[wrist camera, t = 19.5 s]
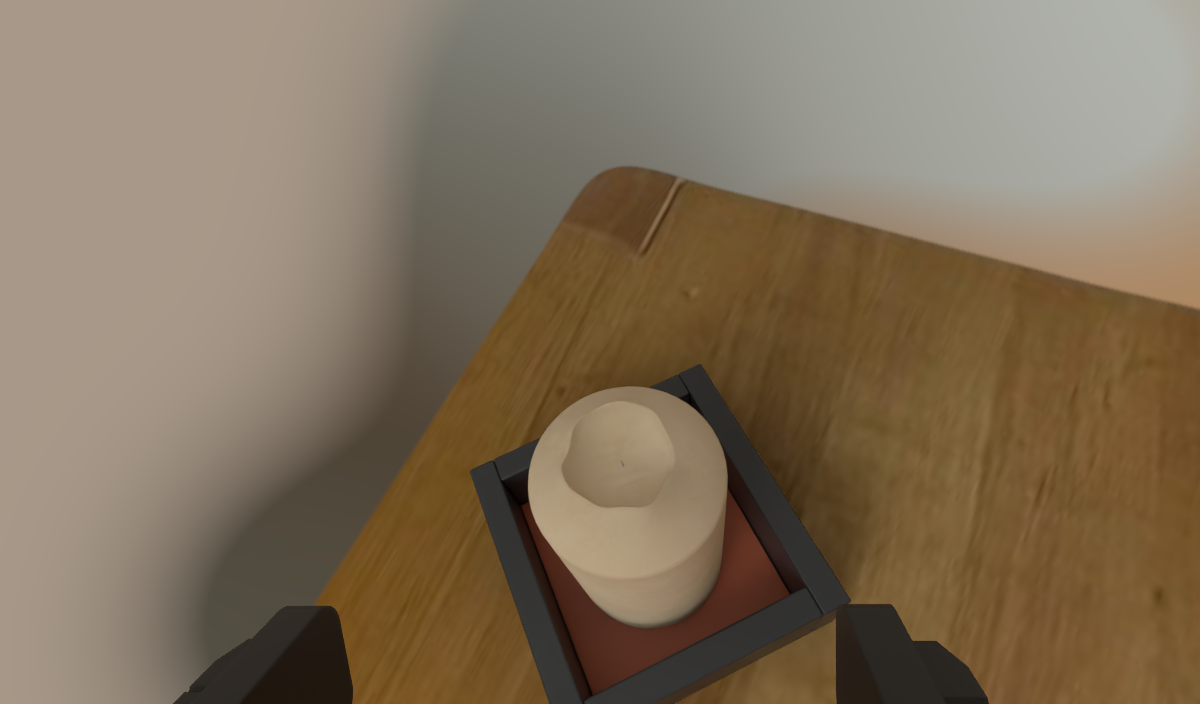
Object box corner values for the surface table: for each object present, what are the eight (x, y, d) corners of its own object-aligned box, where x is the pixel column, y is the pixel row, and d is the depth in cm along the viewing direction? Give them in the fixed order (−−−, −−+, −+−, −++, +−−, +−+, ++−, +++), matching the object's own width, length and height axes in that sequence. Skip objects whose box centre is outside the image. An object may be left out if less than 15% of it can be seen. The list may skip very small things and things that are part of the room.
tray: (583, 750, 22) (564, 749, 19) (494, 500, 28) (468, 469, 25) (833, 620, 24) (851, 601, 20) (701, 404, 29) (700, 362, 26)
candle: (746, 598, 24) (768, 512, 15) (605, 654, 23) (547, 599, 15) (687, 466, 27) (677, 333, 18) (561, 514, 26) (492, 402, 18)
